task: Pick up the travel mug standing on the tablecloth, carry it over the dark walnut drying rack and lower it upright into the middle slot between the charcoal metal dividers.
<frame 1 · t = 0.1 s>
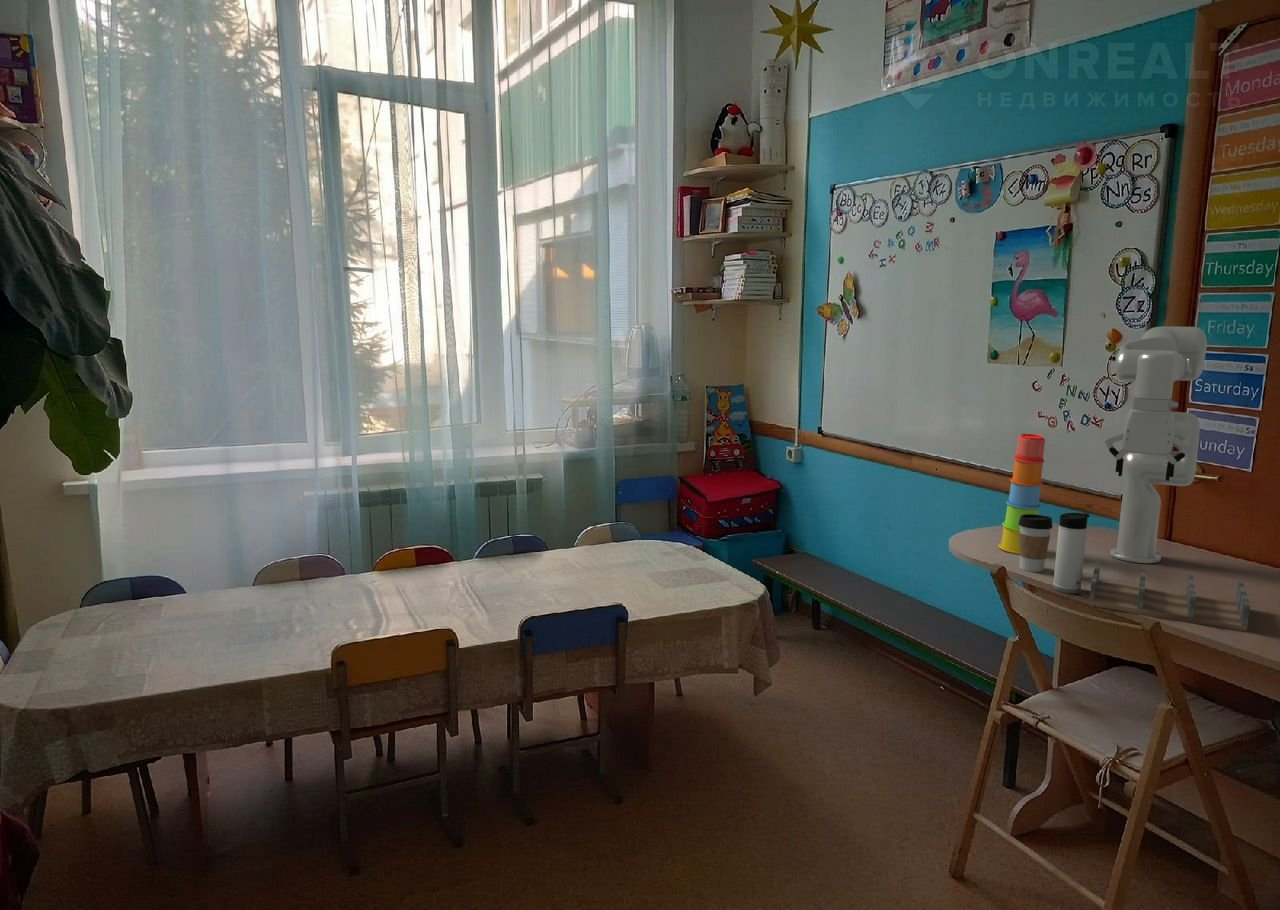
hand: (1143, 477, 197), 31 cm above the table, fingers open, 9 cm apart
stacking cups: (1017, 550, 247), on the table
coffee cup: (1031, 569, 229), on the table
travel mug: (1067, 590, 212), on the table
drying rack: (1164, 606, 200), on the table
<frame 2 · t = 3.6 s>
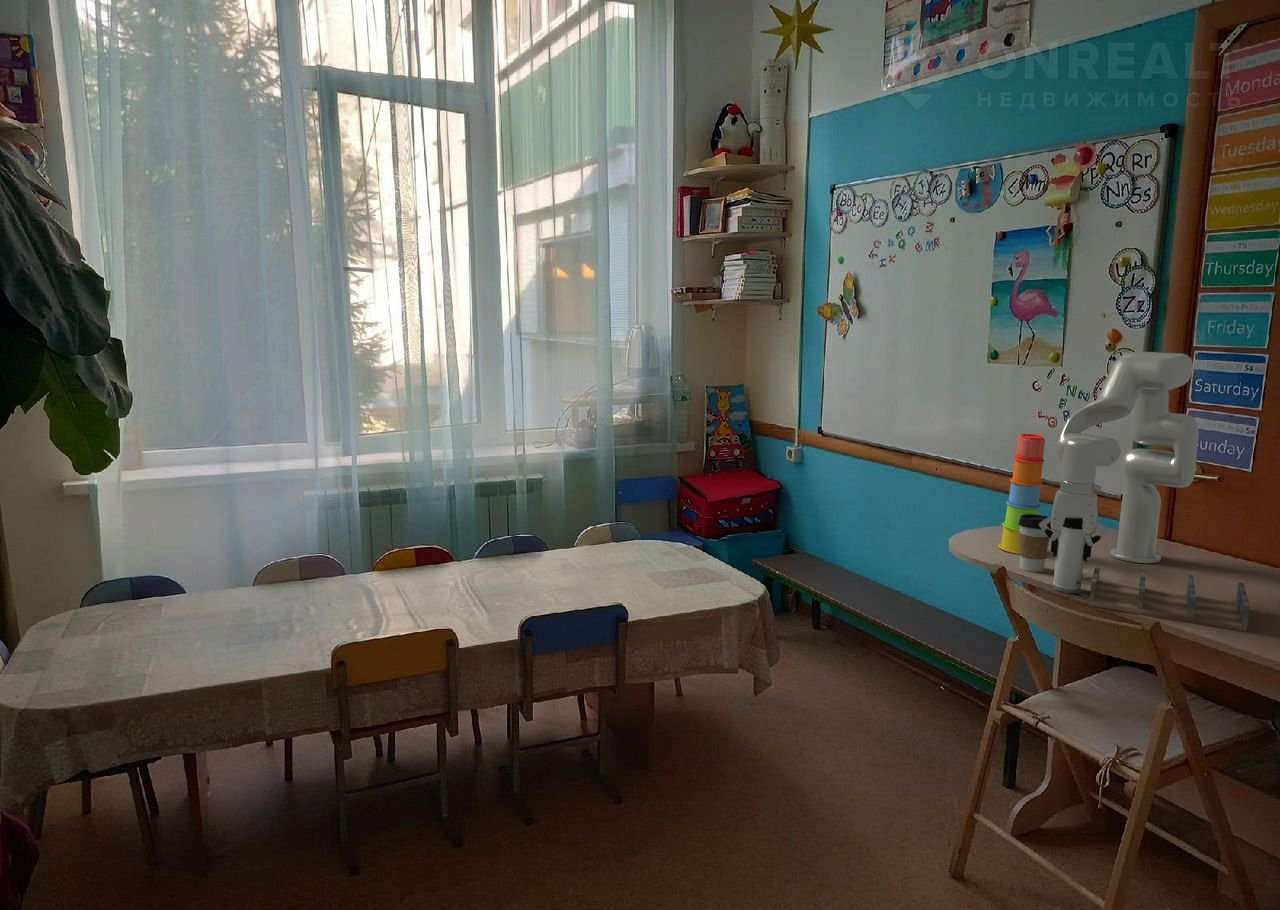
hand: (1070, 556, 211), 9 cm above the table, fingers closed on travel mug, 6 cm apart
travel mug: (1067, 590, 212), on the table, touching gripper
everything else where it was.
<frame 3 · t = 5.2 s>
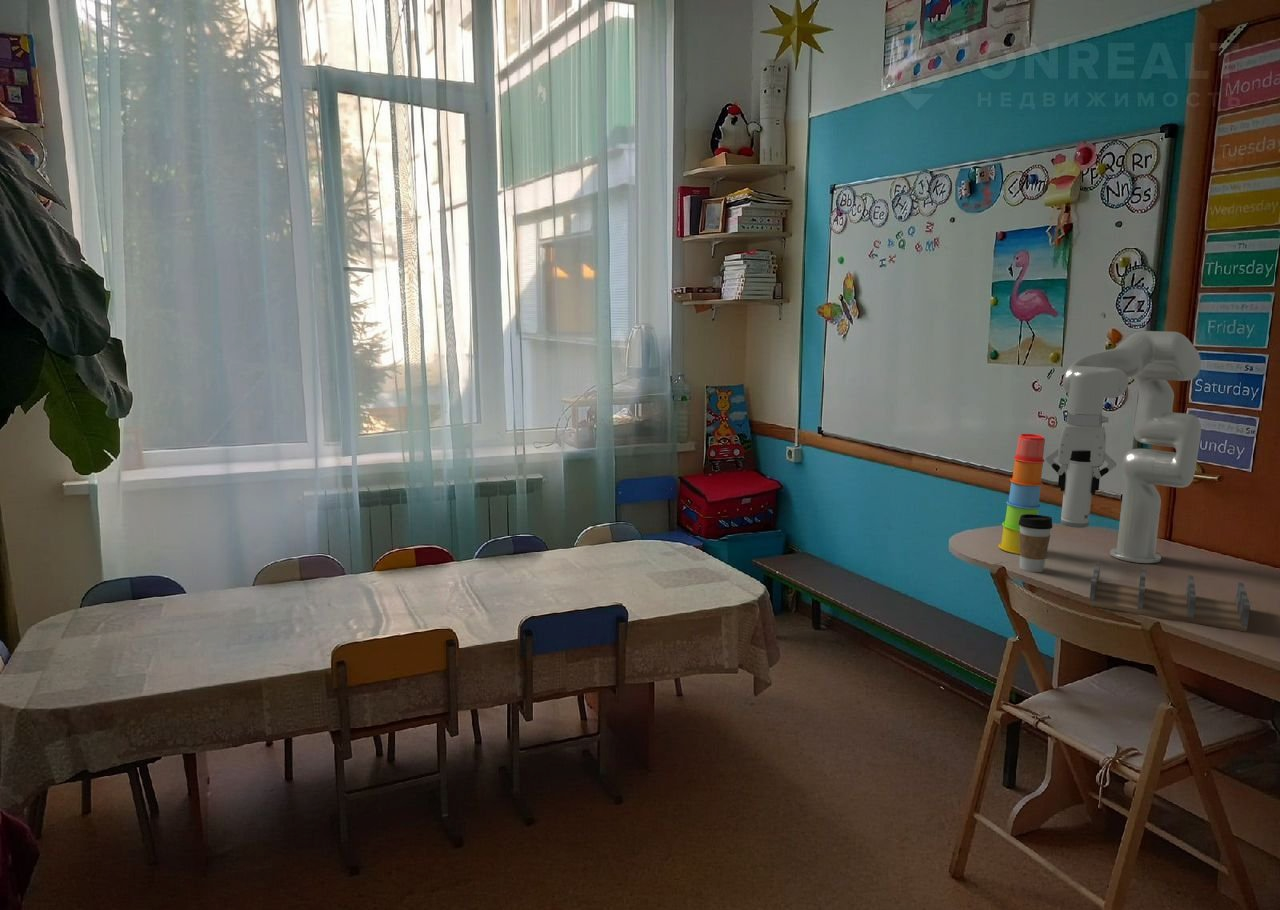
hand: (1077, 490, 208), 26 cm above the table, fingers closed on travel mug, 6 cm apart
travel mug: (1075, 525, 210), point 17 cm above the table, touching gripper
everything else where it was.
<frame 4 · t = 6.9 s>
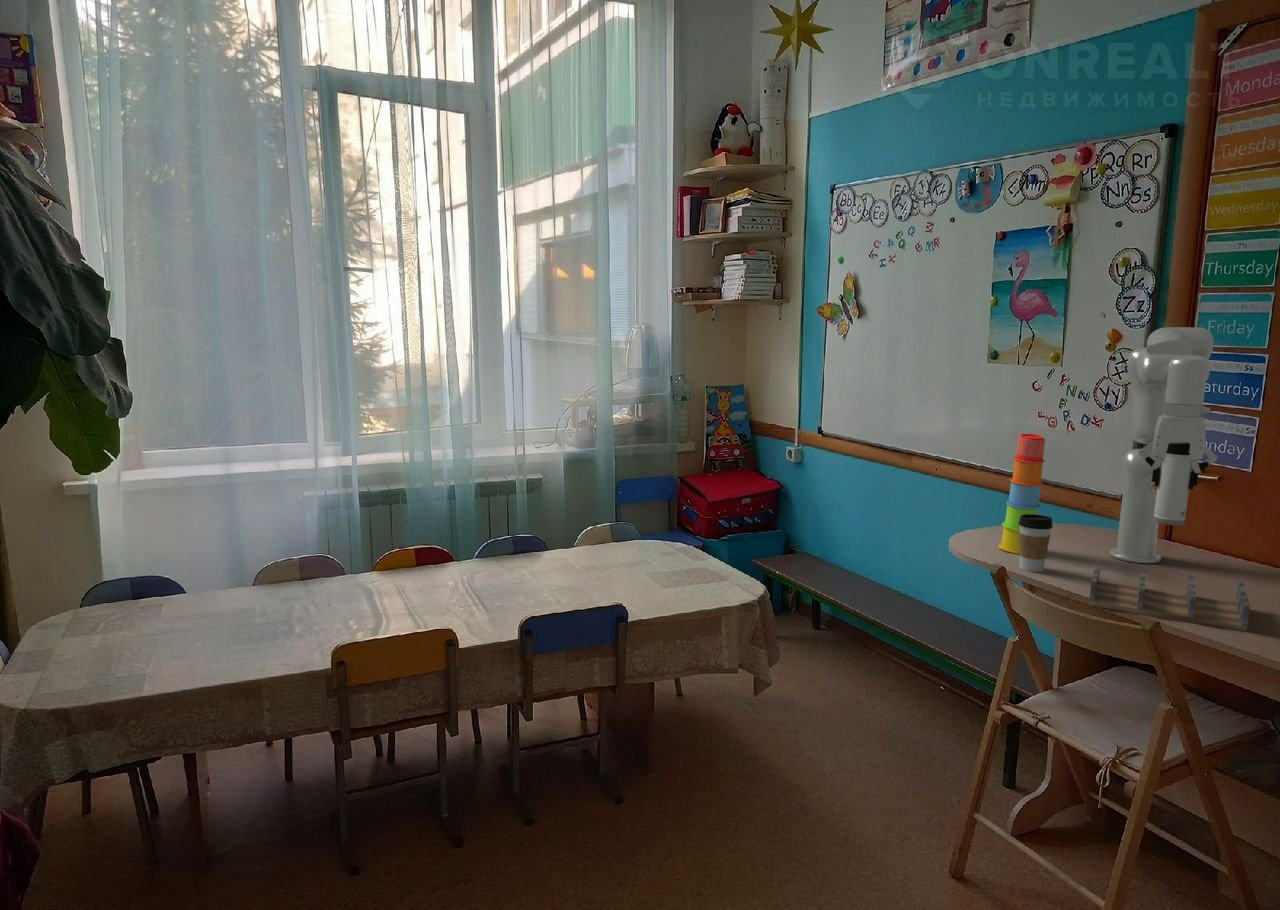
hand: (1173, 486, 196), 29 cm above the table, fingers closed on travel mug, 6 cm apart
travel mug: (1169, 522, 197), point 21 cm above the table, touching gripper
everything else where it was.
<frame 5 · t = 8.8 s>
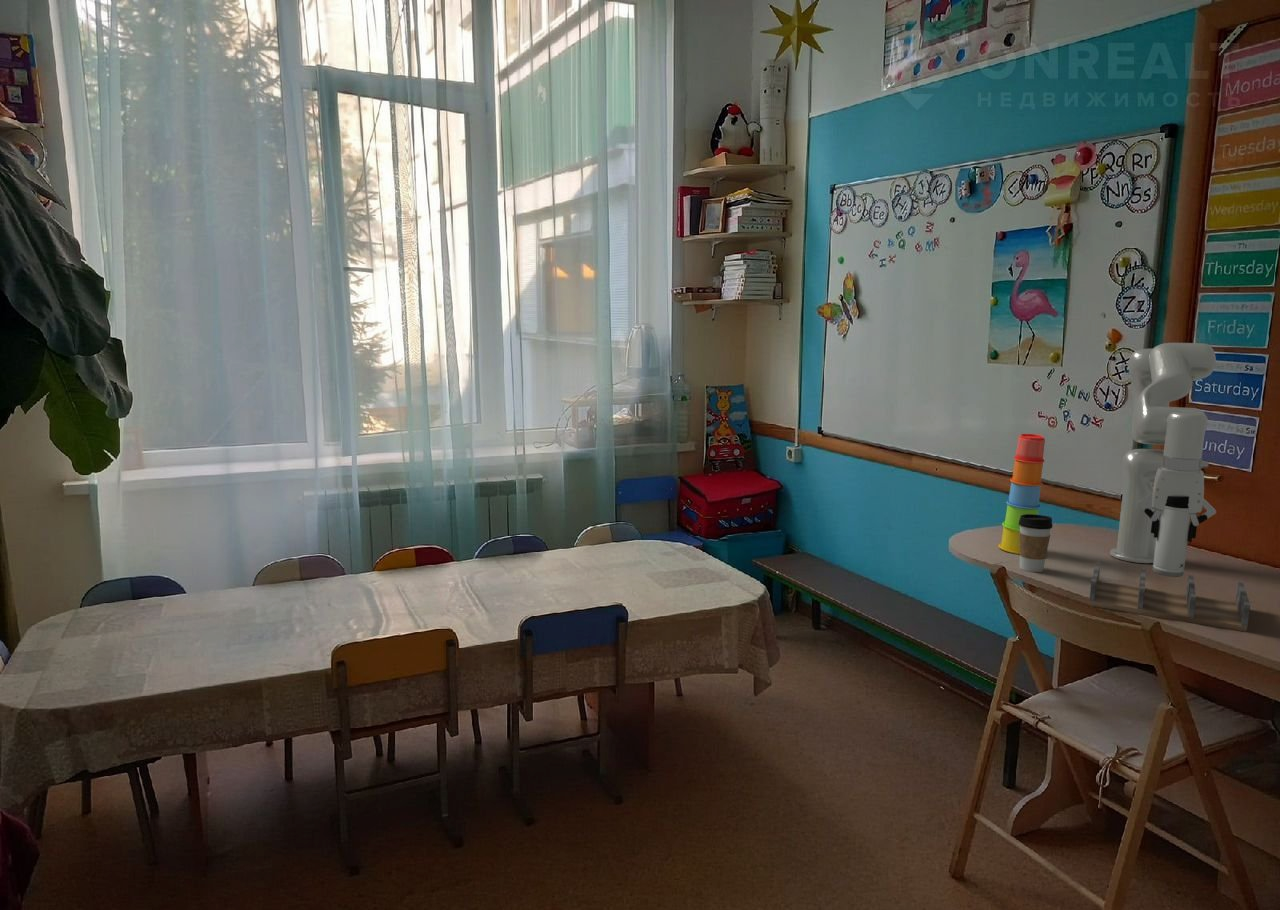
hand: (1172, 538, 197), 17 cm above the table, fingers closed on travel mug, 6 cm apart
travel mug: (1168, 574, 199), point 8 cm above the table, touching gripper
everything else where it was.
when the fingers open (11 cm above the table, at t = 10.5 s): travel mug moves 1 cm, resting on drying rack.
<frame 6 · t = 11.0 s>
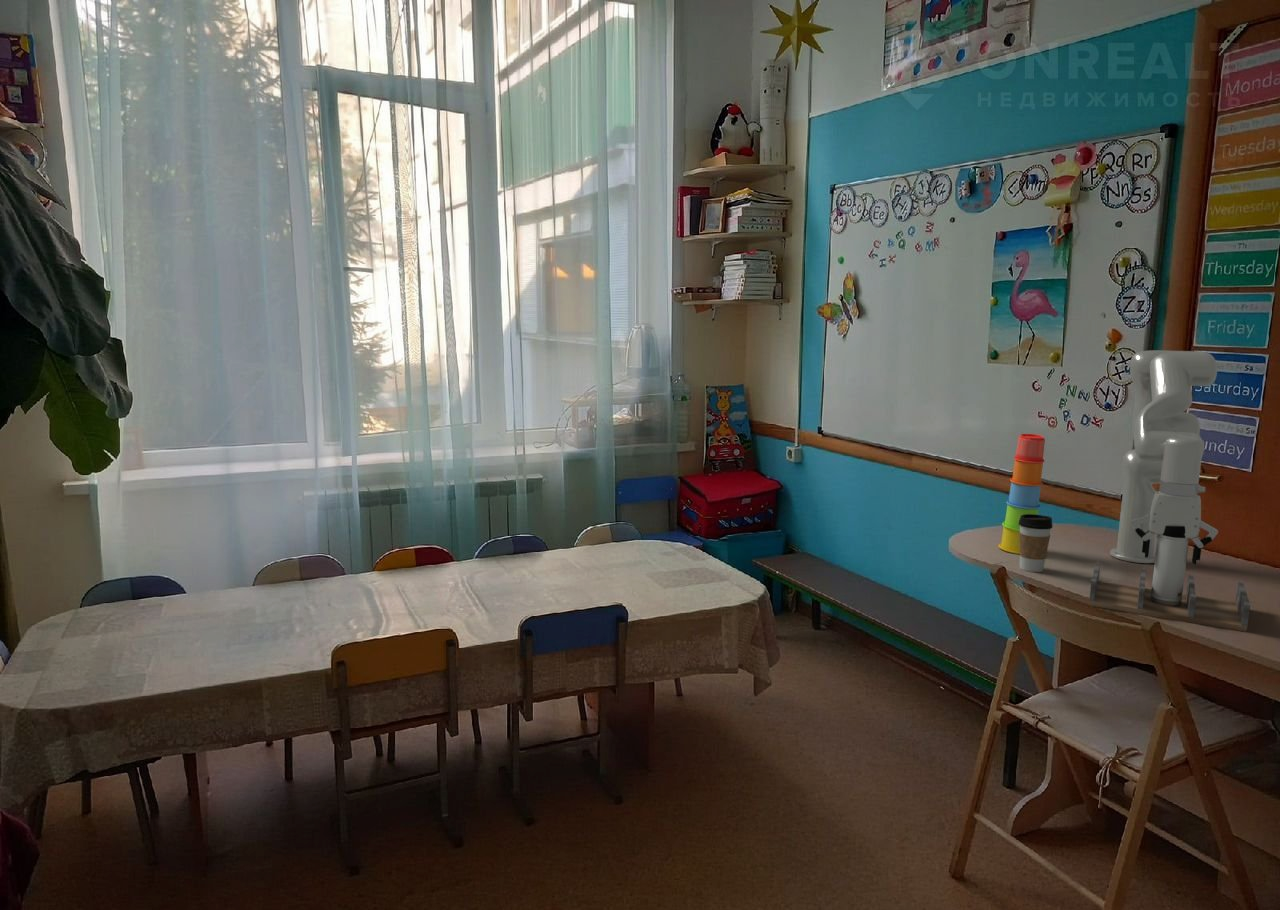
hand: (1169, 559, 198), 12 cm above the table, fingers open, 9 cm apart
travel mug: (1166, 602, 200), point 1 cm above the table, touching drying rack
everything else where it was.
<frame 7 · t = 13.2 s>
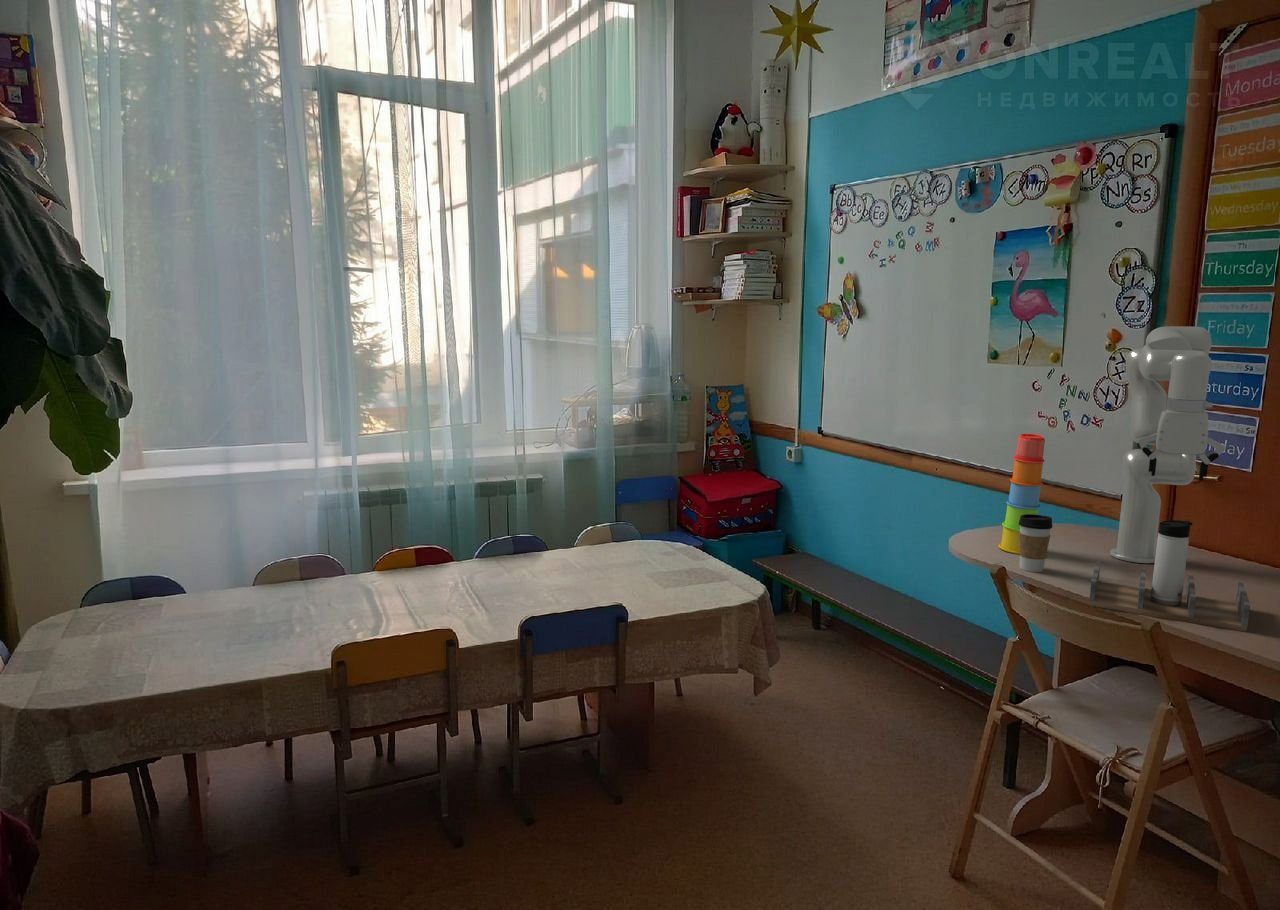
hand: (1176, 477, 199), 31 cm above the table, fingers open, 9 cm apart
nothing on the table moved.
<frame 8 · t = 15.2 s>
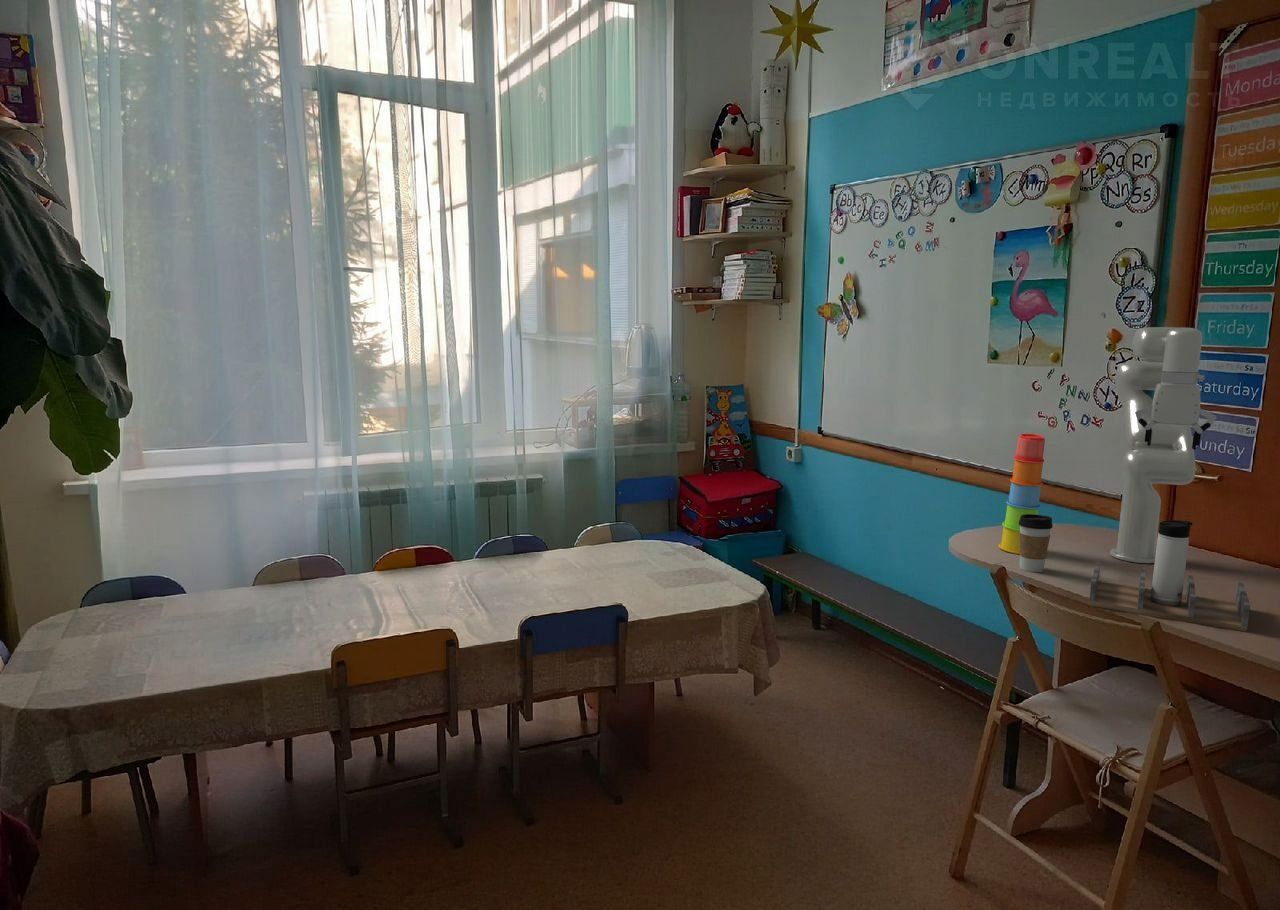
hand: (1171, 446, 210), 36 cm above the table, fingers open, 9 cm apart
nothing on the table moved.
at the end: travel mug inside the target area on the drying rack (0.4 cm from its centre), point 1.0 cm above the drying rack's base; travel mug tilted 0°; the gripper is holding nothing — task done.
